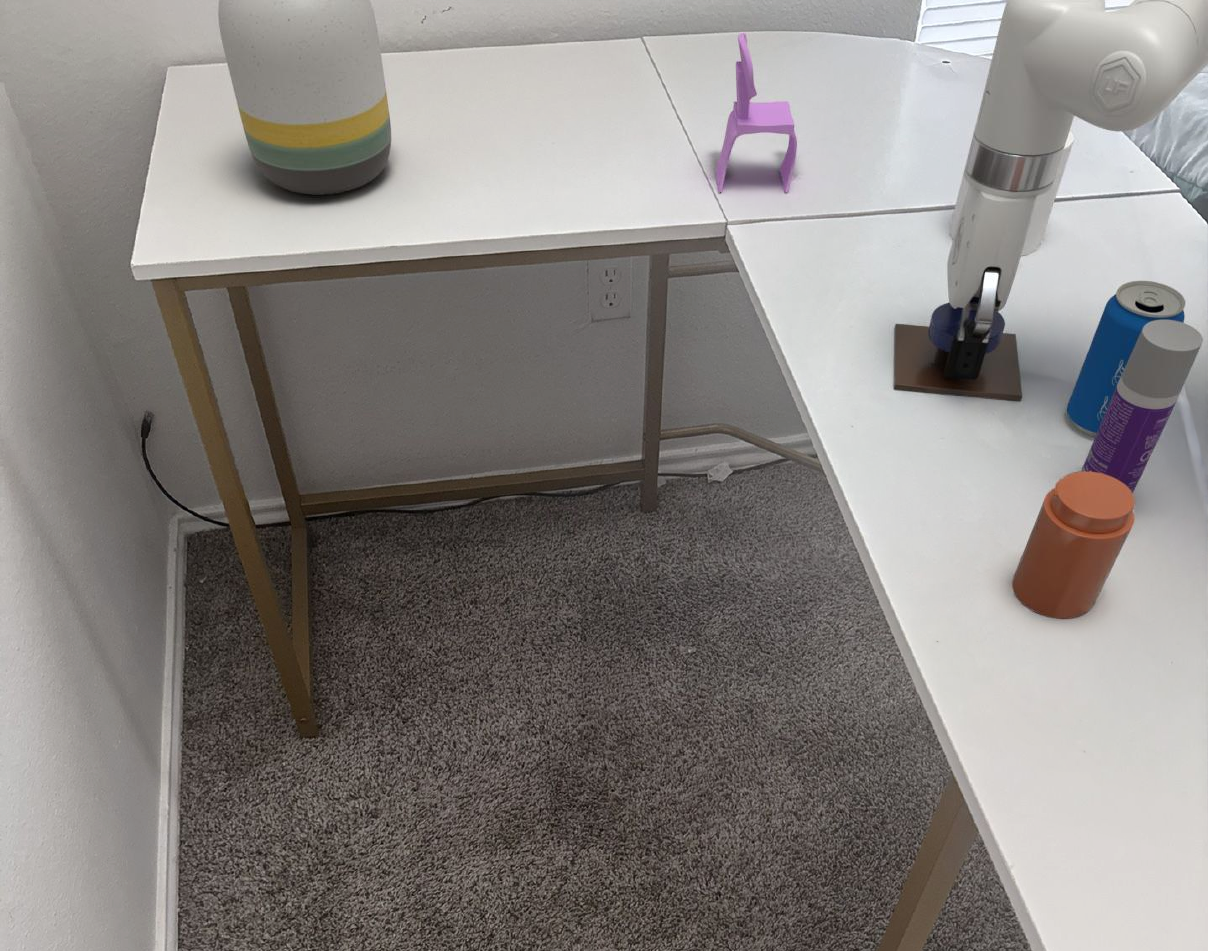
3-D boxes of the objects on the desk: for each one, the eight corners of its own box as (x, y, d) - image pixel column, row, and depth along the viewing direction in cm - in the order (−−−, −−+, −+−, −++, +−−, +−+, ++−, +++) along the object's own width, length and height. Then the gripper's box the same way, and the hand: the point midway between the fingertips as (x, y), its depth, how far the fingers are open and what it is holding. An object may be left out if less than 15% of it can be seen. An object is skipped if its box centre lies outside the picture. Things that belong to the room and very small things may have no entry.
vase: (296, 223, 125) (239, -31, 105) (233, 169, 133) (170, -76, 114) (423, 182, 131) (392, -65, 111) (356, 133, 139) (315, -105, 120)
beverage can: (1061, 435, 100) (1110, 310, 91) (1065, 396, 104) (1112, 273, 94) (1134, 448, 99) (1191, 323, 90) (1135, 408, 103) (1190, 284, 93)
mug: (1052, 275, 118) (1087, 170, 109) (957, 271, 118) (984, 166, 110) (1034, 215, 126) (1065, 113, 117) (944, 211, 126) (969, 110, 118)
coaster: (1014, 339, 110) (1015, 333, 110) (1020, 401, 104) (1022, 395, 103) (894, 328, 111) (895, 323, 111) (893, 389, 105) (894, 384, 104)
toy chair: (793, 197, 128) (812, 50, 116) (718, 197, 128) (730, 51, 116) (785, 165, 133) (803, 21, 121) (714, 165, 133) (724, 22, 121)
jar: (1091, 567, 90) (1136, 471, 82) (1099, 623, 86) (1147, 527, 78) (1010, 558, 90) (1047, 462, 83) (1014, 613, 86) (1053, 517, 79)
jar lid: (916, 344, 104) (920, 327, 103) (940, 310, 108) (944, 294, 107) (987, 363, 102) (992, 346, 101) (1009, 328, 106) (1014, 311, 104)
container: (1125, 518, 93) (1202, 356, 81) (1069, 505, 94) (1137, 344, 82) (1131, 486, 96) (1206, 325, 84) (1076, 474, 97) (1143, 313, 85)
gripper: (964, 114, 98) (919, 306, 112) (971, 204, 88) (921, 402, 102) (1050, 120, 97) (994, 312, 111) (1067, 211, 87) (1003, 409, 101)
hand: (959, 353), depth 107 cm, fingers closed on jar lid, 6 cm apart
